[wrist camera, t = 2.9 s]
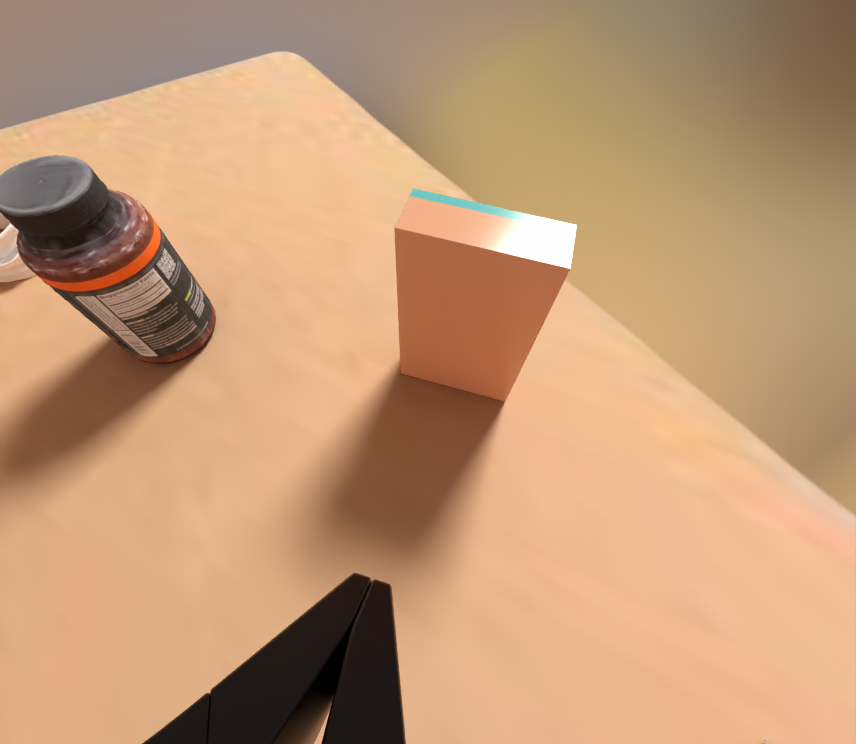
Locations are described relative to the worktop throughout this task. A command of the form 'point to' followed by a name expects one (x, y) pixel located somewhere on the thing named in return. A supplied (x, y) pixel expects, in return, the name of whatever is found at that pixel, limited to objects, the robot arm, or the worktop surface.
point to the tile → (474, 289)
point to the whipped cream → (11, 254)
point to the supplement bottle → (105, 258)
